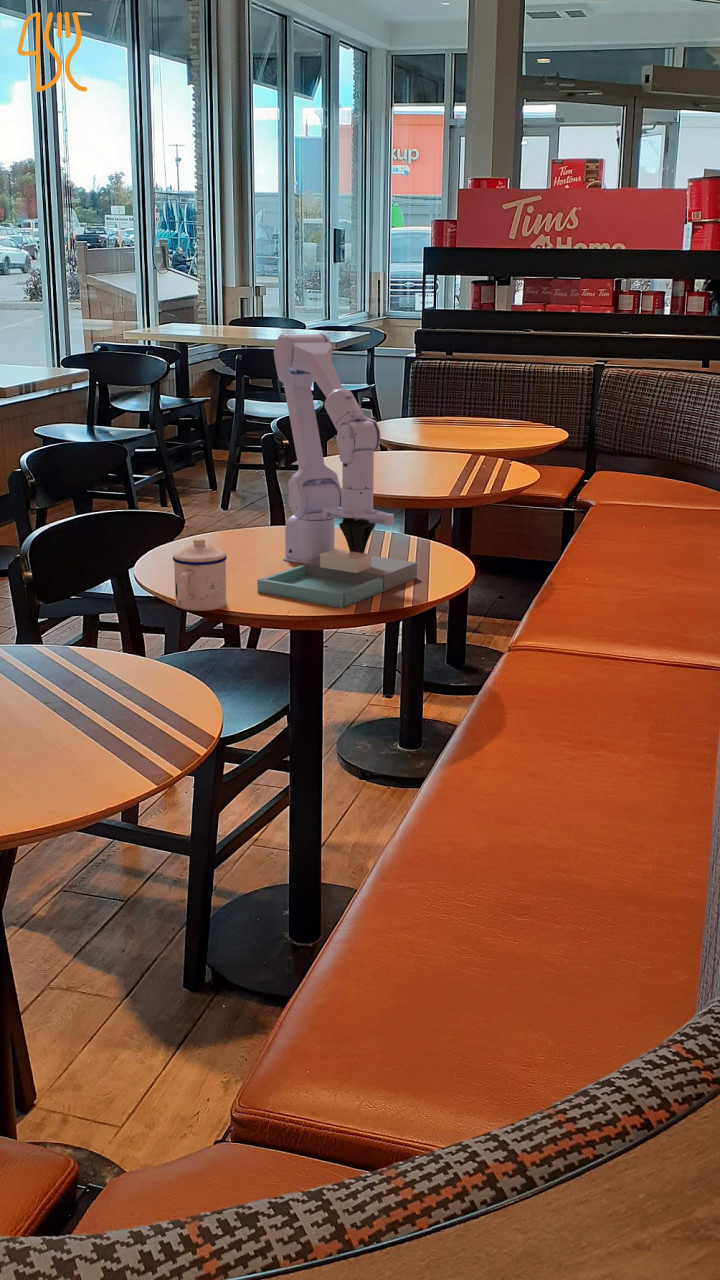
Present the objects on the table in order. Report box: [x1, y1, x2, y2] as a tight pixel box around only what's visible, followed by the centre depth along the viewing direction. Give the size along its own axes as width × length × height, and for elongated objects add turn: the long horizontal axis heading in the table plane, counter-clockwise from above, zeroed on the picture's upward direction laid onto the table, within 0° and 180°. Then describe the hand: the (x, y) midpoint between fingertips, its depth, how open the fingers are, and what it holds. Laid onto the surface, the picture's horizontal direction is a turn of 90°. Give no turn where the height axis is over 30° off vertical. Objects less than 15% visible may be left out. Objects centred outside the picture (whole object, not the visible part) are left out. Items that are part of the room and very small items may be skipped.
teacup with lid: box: [172, 537, 228, 612], centre depth 193 cm, size 12×9×12 cm
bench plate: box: [301, 555, 418, 592], centre depth 215 cm, size 18×12×3 cm, turn 58°
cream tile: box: [320, 548, 372, 573], centre depth 210 cm, size 8×5×2 cm, turn 58°
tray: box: [256, 565, 385, 609], centre depth 205 cm, size 18×14×2 cm
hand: (357, 559), depth 214 cm, fingers closed
